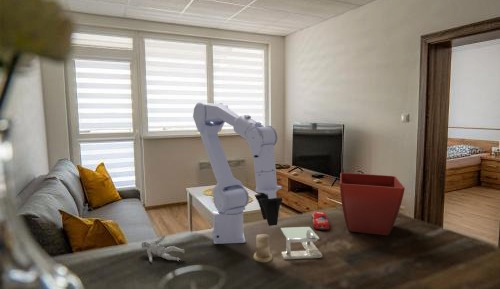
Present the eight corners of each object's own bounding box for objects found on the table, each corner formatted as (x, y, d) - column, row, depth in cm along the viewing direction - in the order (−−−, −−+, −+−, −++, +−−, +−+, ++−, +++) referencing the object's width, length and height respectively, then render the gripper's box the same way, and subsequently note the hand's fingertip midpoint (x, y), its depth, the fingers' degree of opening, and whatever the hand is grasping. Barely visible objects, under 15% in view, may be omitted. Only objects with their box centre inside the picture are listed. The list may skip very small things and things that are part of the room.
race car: (330, 232, 105) (330, 220, 104) (313, 231, 106) (313, 219, 105) (326, 219, 118) (326, 208, 117) (311, 218, 119) (311, 207, 118)
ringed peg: (254, 262, 82) (255, 240, 82) (252, 254, 87) (252, 233, 87) (273, 261, 83) (274, 239, 82) (270, 253, 88) (270, 232, 87)
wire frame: (284, 259, 84) (284, 241, 84) (277, 245, 93) (277, 229, 93) (322, 257, 86) (322, 239, 85) (311, 243, 94) (312, 227, 94)
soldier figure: (172, 271, 80) (131, 252, 82) (174, 276, 84) (135, 258, 86) (187, 243, 84) (147, 225, 86) (188, 248, 88) (151, 232, 90)
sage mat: (287, 240, 97) (287, 239, 97) (280, 228, 106) (280, 227, 106) (319, 239, 98) (319, 238, 98) (309, 227, 108) (309, 226, 108)
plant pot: (402, 241, 97) (405, 187, 95) (337, 234, 102) (339, 183, 101) (393, 221, 115) (395, 175, 114) (338, 216, 121) (340, 172, 119)
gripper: (286, 171, 78) (291, 226, 78) (274, 168, 92) (278, 214, 92) (258, 174, 77) (263, 229, 77) (250, 170, 92) (254, 217, 91)
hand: (269, 222), depth 85 cm, fingers open, 7 cm apart
